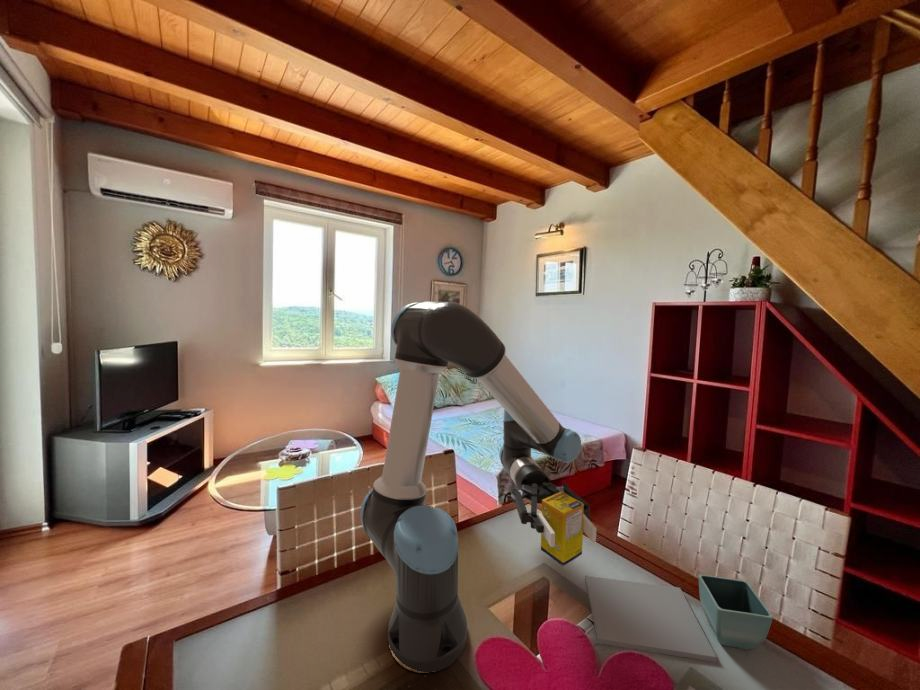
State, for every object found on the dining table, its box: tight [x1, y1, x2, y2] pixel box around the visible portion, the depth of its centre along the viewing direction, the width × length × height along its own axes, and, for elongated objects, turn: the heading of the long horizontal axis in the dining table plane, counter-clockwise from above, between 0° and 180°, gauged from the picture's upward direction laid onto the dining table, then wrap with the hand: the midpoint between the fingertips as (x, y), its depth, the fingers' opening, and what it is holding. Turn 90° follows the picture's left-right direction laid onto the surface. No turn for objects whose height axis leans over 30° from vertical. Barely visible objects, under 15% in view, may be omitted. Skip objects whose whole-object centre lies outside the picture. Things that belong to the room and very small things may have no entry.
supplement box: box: [540, 492, 584, 567], centre depth 73 cm, size 6×6×11 cm
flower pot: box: [698, 574, 774, 650], centre depth 69 cm, size 9×9×9 cm
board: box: [584, 575, 717, 663], centre depth 74 cm, size 20×16×1 cm
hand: (573, 537), depth 68 cm, fingers closed on supplement box, 8 cm apart
